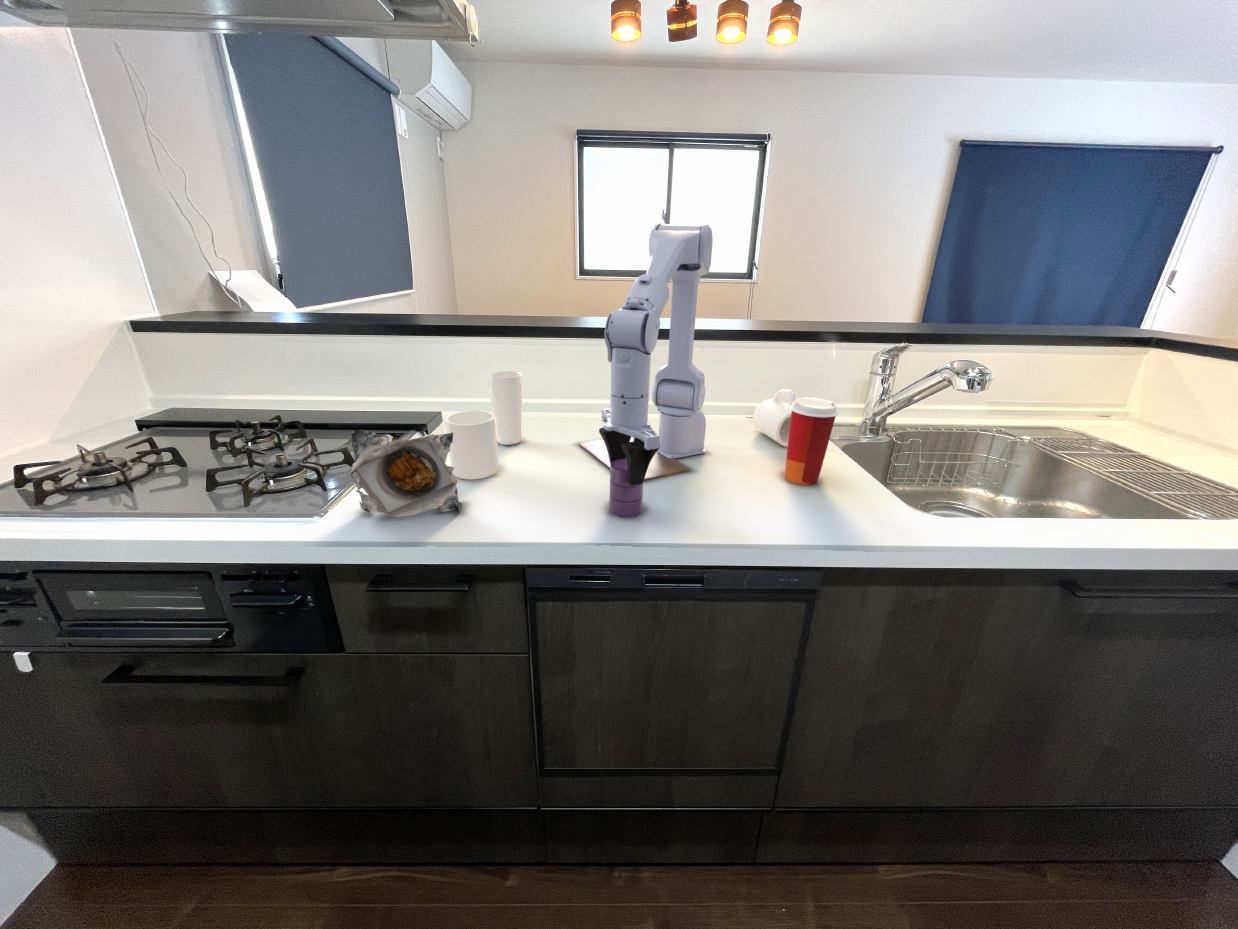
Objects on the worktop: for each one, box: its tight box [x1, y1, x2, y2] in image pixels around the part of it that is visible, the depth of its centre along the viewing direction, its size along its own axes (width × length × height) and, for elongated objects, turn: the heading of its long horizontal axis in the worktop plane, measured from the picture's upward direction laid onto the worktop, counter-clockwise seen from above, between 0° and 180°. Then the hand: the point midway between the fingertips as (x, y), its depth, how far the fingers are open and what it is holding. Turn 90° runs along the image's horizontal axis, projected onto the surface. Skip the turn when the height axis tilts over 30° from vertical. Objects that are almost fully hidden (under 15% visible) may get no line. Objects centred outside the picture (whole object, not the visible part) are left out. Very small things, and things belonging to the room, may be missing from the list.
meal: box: [349, 429, 464, 519], centre depth 76 cm, size 15×4×13 cm, turn 98°
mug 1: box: [444, 409, 500, 481], centre depth 93 cm, size 9×12×11 cm
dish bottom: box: [608, 495, 644, 518], centre depth 81 cm, size 5×5×3 cm
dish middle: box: [609, 479, 644, 502], centre depth 79 cm, size 5×5×3 cm
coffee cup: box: [784, 396, 839, 486], centre depth 91 cm, size 8×8×15 cm
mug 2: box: [752, 388, 797, 447], centre depth 111 cm, size 8×10×12 cm
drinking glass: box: [488, 370, 524, 446], centre depth 105 cm, size 7×7×15 cm
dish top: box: [609, 458, 640, 487], centre depth 78 cm, size 5×5×3 cm
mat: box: [578, 437, 692, 482], centre depth 102 cm, size 14×22×1 cm, turn 28°
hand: (626, 476), depth 79 cm, fingers closed on dish top, 5 cm apart
